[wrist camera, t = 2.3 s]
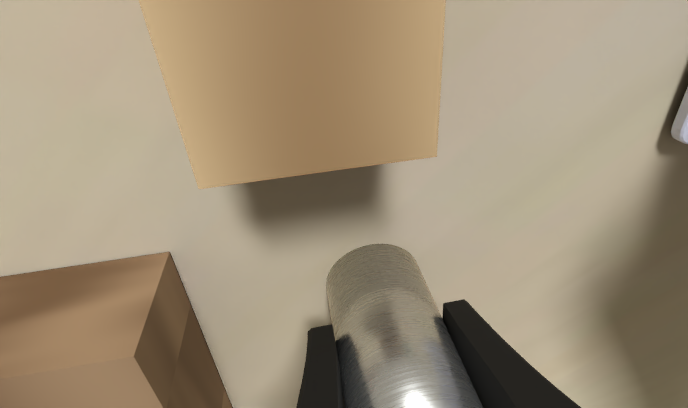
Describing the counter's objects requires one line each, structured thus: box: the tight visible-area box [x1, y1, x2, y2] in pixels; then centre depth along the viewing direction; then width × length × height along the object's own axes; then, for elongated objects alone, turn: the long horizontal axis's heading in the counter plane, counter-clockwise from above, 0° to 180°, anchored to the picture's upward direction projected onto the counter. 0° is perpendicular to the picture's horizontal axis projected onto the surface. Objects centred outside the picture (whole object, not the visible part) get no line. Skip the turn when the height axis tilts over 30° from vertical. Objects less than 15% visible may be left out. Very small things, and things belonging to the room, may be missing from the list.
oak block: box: [139, 0, 446, 189], centre depth 7 cm, size 4×4×4 cm
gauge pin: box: [326, 244, 483, 408], centre depth 11 cm, size 3×3×6 cm
